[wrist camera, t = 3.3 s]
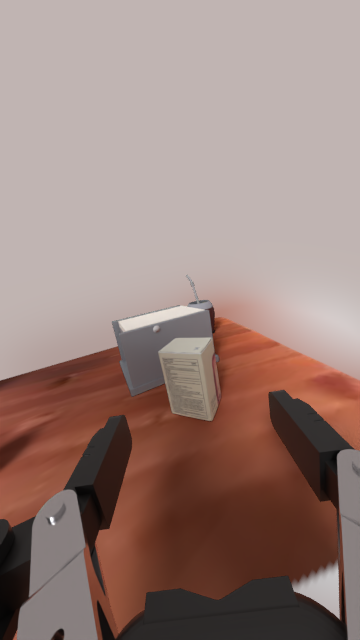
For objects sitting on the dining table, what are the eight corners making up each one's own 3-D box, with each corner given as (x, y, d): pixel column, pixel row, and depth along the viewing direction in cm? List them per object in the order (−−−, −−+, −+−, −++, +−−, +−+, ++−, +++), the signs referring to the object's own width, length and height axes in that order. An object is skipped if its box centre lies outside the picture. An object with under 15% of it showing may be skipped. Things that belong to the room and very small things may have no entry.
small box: (222, 396, 23) (214, 336, 21) (212, 423, 19) (201, 352, 17) (185, 391, 25) (175, 336, 23) (170, 414, 21) (156, 351, 20)
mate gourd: (210, 337, 43) (201, 272, 40) (182, 336, 47) (171, 277, 44) (221, 327, 49) (214, 270, 46) (194, 327, 53) (186, 274, 50)
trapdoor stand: (131, 396, 26) (115, 336, 24) (120, 365, 37) (108, 322, 34) (219, 361, 31) (212, 309, 29) (187, 343, 42) (180, 304, 40)
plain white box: (135, 369, 27) (125, 330, 26) (125, 351, 35) (117, 321, 34) (209, 343, 32) (204, 309, 31) (186, 332, 40) (181, 305, 39)
